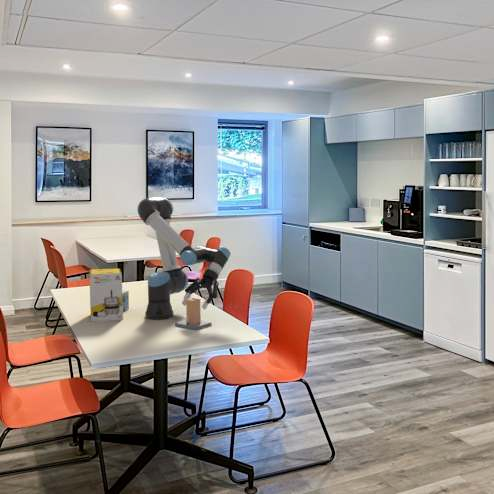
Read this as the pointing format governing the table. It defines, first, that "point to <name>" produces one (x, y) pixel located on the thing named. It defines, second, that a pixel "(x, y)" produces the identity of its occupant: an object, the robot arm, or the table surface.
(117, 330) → the table surface
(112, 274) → the packaging box
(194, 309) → the case
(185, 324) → the pin tray
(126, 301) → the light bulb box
